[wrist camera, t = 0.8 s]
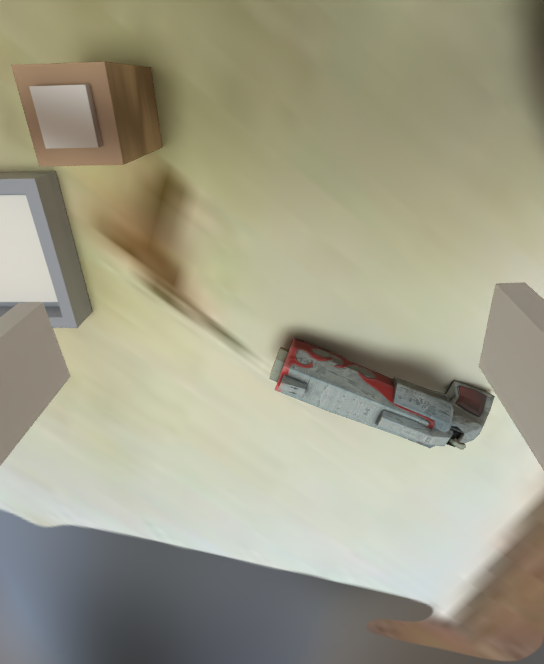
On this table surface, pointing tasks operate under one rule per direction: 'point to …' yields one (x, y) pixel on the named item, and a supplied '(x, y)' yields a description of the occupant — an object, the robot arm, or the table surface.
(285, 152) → the table surface
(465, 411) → the toy gun
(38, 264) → the chassis bay
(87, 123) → the walnut block
